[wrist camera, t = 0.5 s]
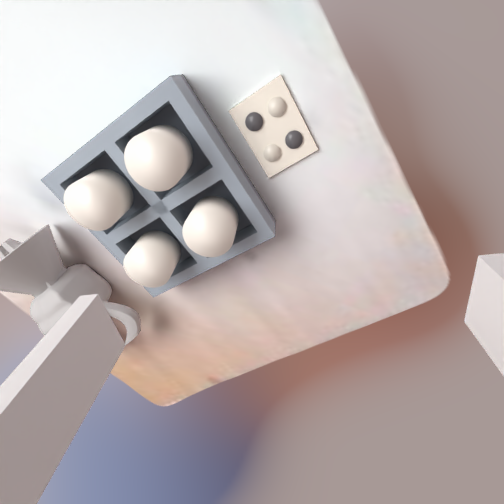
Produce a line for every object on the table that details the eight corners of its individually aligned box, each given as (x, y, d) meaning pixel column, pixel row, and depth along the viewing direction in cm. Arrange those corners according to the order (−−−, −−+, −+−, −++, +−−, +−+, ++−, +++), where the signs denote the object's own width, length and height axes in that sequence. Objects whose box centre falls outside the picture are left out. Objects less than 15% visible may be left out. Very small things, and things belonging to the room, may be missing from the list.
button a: (182, 210, 34) (171, 226, 31) (220, 187, 32) (214, 201, 29) (210, 245, 36) (203, 264, 33) (247, 225, 34) (244, 243, 31)
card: (228, 110, 31) (228, 111, 31) (280, 74, 29) (280, 74, 29) (268, 177, 34) (268, 178, 34) (318, 149, 32) (318, 149, 32)
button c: (130, 143, 31) (112, 153, 27) (170, 113, 29) (155, 120, 25) (164, 186, 33) (151, 201, 29) (203, 161, 31) (193, 173, 28)
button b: (128, 242, 37) (113, 260, 33) (161, 223, 35) (148, 240, 32) (157, 273, 39) (145, 294, 35) (189, 256, 37) (180, 276, 34)
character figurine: (-4, 253, 43) (106, 338, 51) (-63, 295, 35) (77, 387, 44) (50, 206, 38) (161, 307, 47) (-5, 242, 31) (140, 356, 39)
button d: (75, 184, 33) (52, 198, 30) (109, 159, 32) (88, 171, 28) (110, 222, 35) (92, 239, 32) (143, 200, 34) (127, 216, 30)
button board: (63, 168, 36) (40, 180, 32) (182, 74, 30) (170, 75, 26) (163, 278, 43) (153, 297, 40) (275, 220, 37) (275, 236, 34)
